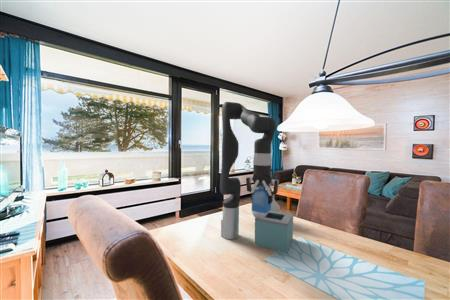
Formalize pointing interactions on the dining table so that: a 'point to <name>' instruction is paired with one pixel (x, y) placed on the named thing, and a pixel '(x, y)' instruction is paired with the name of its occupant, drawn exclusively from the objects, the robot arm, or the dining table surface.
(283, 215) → the box
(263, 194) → the perfume bottle
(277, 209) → the ceramic pitcher
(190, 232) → the dining table surface
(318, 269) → the dining table surface
